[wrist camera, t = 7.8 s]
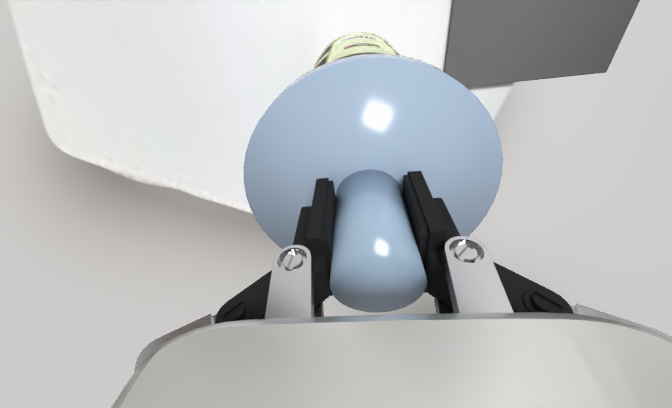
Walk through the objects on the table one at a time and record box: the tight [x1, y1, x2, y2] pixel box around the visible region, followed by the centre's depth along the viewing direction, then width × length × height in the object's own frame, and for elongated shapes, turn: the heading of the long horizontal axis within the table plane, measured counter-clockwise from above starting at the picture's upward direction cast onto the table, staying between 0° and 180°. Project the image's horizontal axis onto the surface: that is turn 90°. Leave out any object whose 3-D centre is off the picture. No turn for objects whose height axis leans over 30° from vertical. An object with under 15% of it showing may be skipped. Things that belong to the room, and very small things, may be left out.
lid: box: [244, 53, 503, 312], centre depth 11 cm, size 12×12×6 cm
